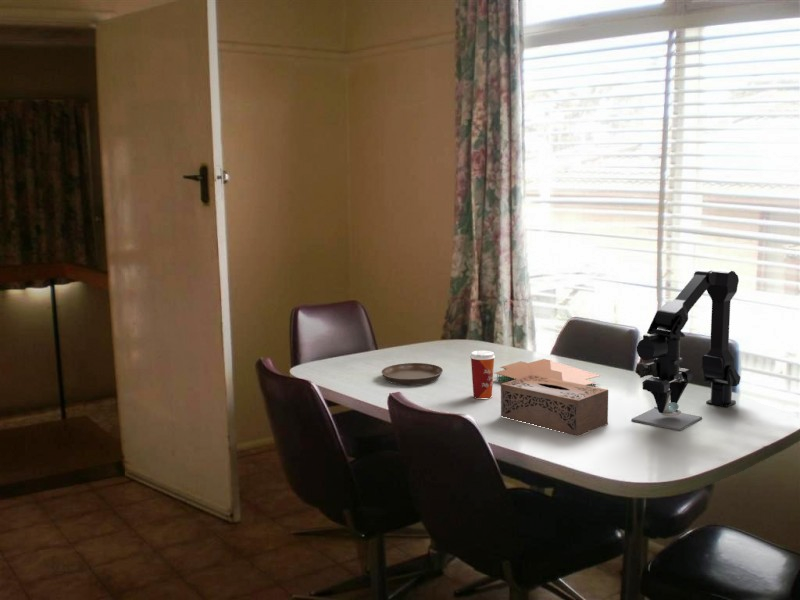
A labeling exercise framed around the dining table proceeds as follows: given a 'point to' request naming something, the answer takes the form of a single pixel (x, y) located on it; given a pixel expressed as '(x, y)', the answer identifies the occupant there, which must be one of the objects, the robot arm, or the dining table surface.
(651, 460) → the dining table surface
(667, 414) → the pacifier
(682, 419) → the mat
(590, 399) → the tissue box cover
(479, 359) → the paper cup
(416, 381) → the plant saucer
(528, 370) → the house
